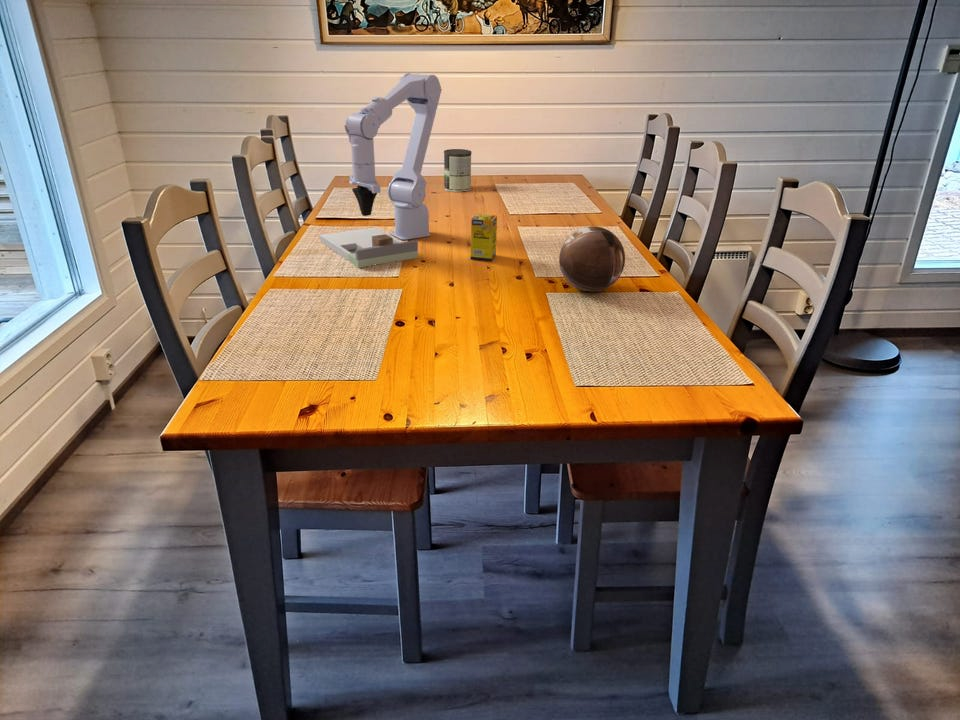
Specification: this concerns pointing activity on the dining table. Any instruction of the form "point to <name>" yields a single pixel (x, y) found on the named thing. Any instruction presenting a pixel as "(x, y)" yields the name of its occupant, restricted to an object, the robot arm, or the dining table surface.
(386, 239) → the walnut block
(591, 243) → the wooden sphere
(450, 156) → the coffee can
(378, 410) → the dining table surface
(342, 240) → the board
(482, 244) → the supplement box
